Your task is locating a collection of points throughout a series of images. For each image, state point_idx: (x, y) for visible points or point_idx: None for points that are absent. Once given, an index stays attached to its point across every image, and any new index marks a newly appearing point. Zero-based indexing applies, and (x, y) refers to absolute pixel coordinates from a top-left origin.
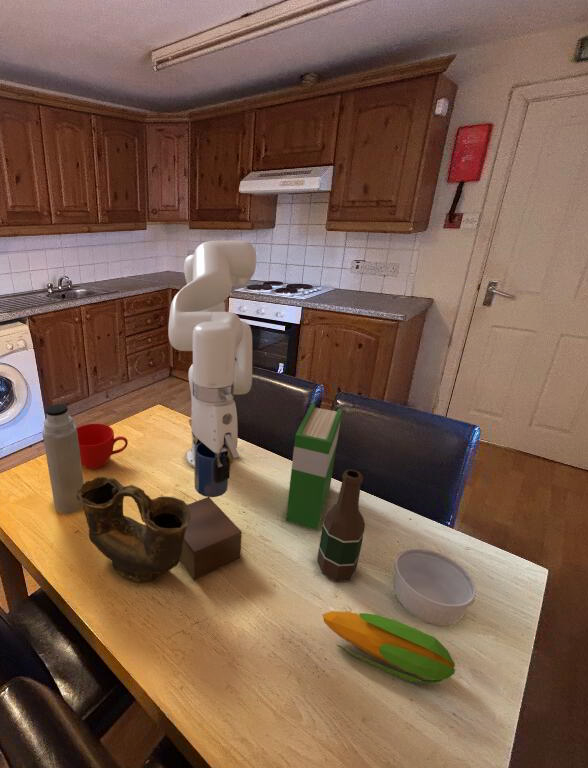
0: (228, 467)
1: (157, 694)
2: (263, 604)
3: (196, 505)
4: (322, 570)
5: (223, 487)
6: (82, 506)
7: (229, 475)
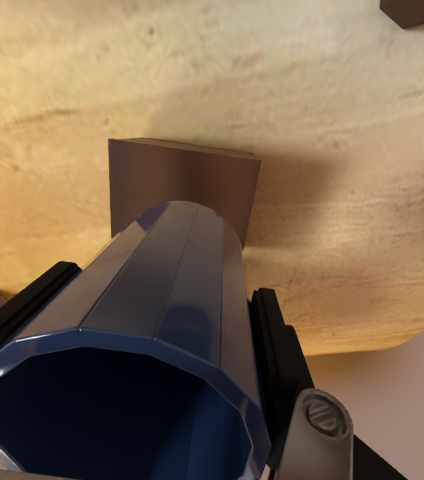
0: (311, 381)
1: (319, 352)
2: (343, 190)
3: (123, 189)
4: (406, 26)
5: (246, 272)
6: (2, 300)
7: (276, 298)
